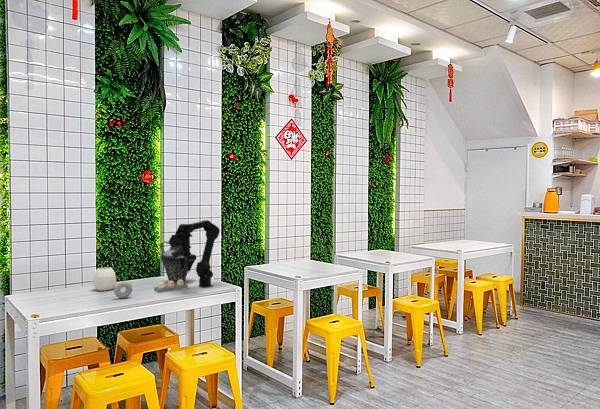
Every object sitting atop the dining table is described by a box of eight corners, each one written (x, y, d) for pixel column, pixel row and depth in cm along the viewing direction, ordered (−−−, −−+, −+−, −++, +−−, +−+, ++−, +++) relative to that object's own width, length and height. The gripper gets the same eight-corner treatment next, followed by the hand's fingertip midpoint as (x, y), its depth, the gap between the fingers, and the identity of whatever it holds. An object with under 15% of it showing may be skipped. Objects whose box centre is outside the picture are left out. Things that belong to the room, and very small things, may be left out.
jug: (189, 278, 339) (188, 235, 338) (195, 283, 321) (194, 238, 320) (158, 281, 331) (157, 237, 330) (162, 286, 313) (162, 240, 312)
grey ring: (114, 300, 277) (114, 282, 276) (113, 298, 280) (113, 281, 279) (133, 297, 282) (132, 280, 281) (131, 296, 285) (131, 279, 284)
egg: (172, 287, 306) (172, 279, 306) (175, 288, 303) (175, 280, 303) (166, 288, 304) (166, 280, 304) (169, 289, 301) (169, 281, 301)
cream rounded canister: (97, 293, 296) (97, 270, 296) (90, 289, 306) (90, 268, 305) (119, 289, 305) (119, 268, 304) (111, 286, 315) (111, 265, 314)
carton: (183, 286, 312) (183, 277, 312) (187, 288, 307) (187, 279, 307) (154, 290, 300) (153, 281, 300) (158, 292, 295) (158, 283, 295)
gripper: (166, 244, 299) (166, 269, 300) (178, 247, 285) (179, 273, 285) (183, 243, 306) (183, 267, 307) (196, 245, 291) (197, 271, 292)
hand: (185, 270), depth 298 cm, fingers open, 9 cm apart
